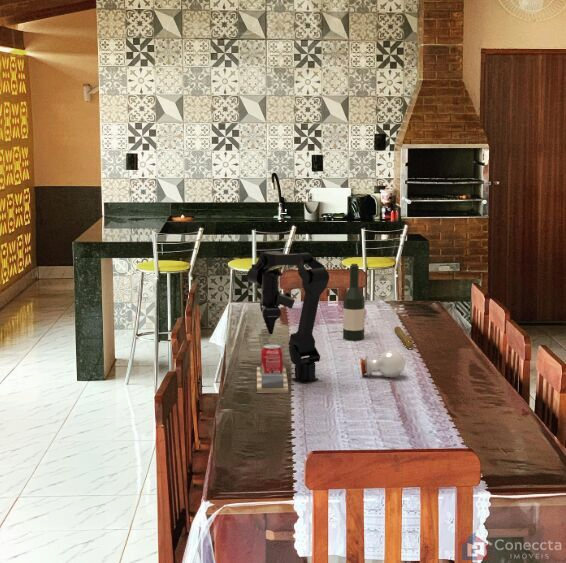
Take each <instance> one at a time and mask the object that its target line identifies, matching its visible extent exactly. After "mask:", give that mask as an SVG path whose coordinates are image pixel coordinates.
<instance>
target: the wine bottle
mask: <svg viewBox="0 0 566 563" xmlns="http://www.w3.org/2000/svg"><path fill="white" fill-rule="evenodd" d="M359 269H360V268H359V265H358V263H351V264H350V266H349V288H348V289H347V291H346V292H345V294H344V296H343V301H342V302H343V304H342V305H343V306H342V307H343V312H342V313H343V317H342V318H343V319H342V322H343V324H342V330H343V331H342V332H343V333H342V339H343V340H345V341H347V342H348V341H351V342H358V341H363V340H364V339H365V300H366V299H365V298H366V297H365V296H364V294H363V293H362V290H361V289H360V286H359V285H360V284H359V278H360V277H359V276H360V275H359V274H360V273H359V272H360V270H359Z"/></svg>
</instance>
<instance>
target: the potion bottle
mask: <svg viewBox="0 0 566 563" xmlns="http://www.w3.org/2000/svg"><path fill="white" fill-rule="evenodd" d="M405 367H406V361H405V358H404V355H403V354H401V353H400V352H399V351H397V350H393V349H388V350H386V351H383V352H381V354H380V355H379V356H378V358H373V359H371V358H370V357H369V356H368V355H366V356H365V358H364V359H363V358H360V370H361V376H362V377H364V376H365V375H367V376H368V377H370V376H371V375H372V373H377V372H378V373H379V372H380V373H381V374H382V375H383V376H384V377H385V378H389V377H390V378H389V379H394V378H397V377H399V376H400V375H401V374H402V373H403V372H404V371H405ZM391 377H392V378H391ZM393 377H394V378H393Z"/></svg>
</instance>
